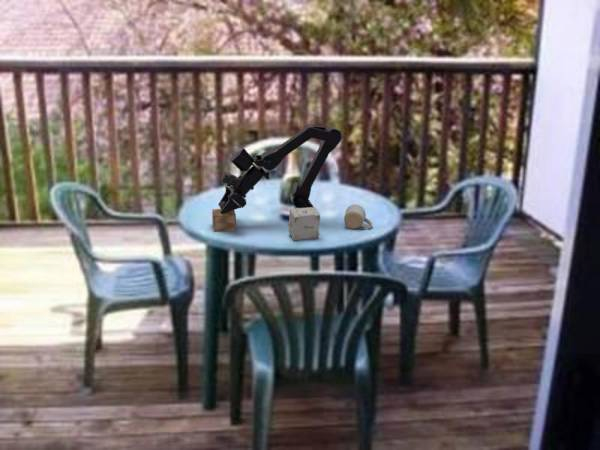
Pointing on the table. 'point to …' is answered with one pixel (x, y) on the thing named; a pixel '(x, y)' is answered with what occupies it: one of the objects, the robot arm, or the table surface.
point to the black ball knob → (222, 204)
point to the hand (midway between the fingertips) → (220, 209)
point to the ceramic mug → (356, 217)
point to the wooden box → (223, 220)
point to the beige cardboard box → (304, 223)
